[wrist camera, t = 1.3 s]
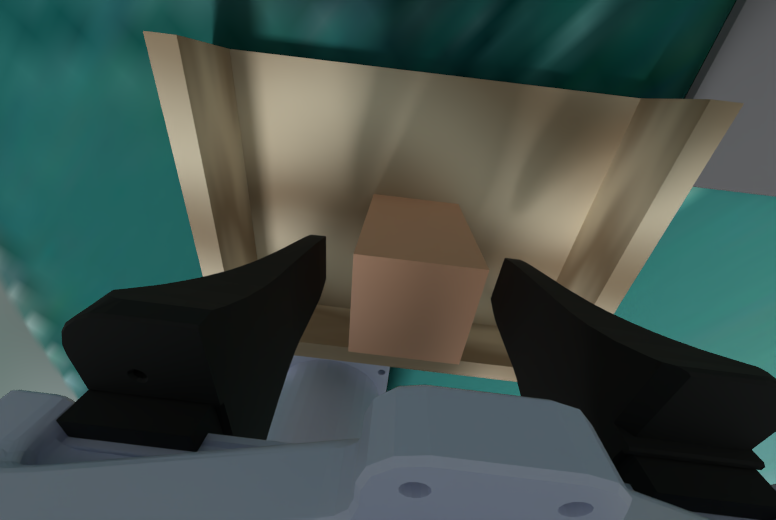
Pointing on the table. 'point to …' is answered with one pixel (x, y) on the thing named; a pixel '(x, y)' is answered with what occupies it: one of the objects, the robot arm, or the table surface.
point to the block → (415, 281)
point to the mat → (743, 99)
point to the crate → (424, 173)
